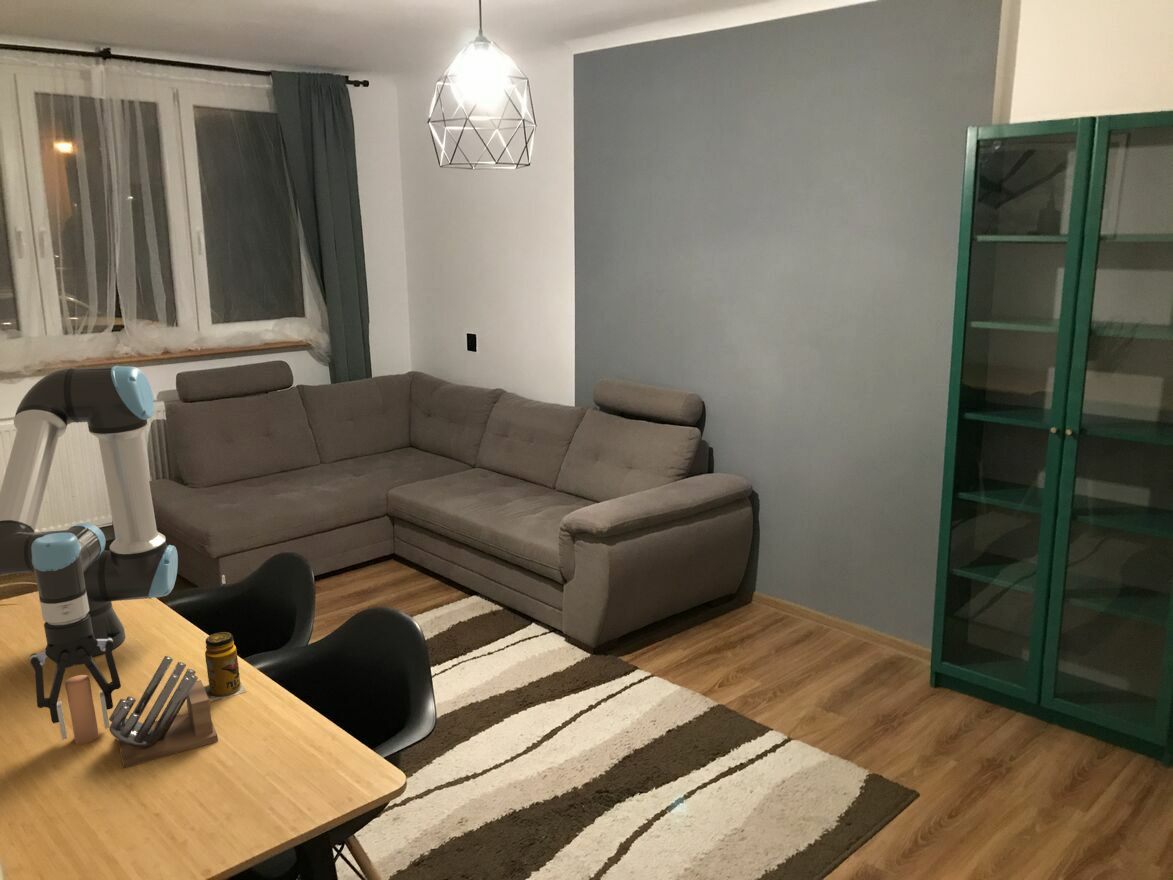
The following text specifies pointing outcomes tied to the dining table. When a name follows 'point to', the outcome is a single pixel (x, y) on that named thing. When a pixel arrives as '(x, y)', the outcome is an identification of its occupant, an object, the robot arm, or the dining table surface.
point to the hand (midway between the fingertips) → (85, 730)
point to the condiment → (222, 667)
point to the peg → (82, 709)
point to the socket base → (178, 731)
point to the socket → (142, 732)
